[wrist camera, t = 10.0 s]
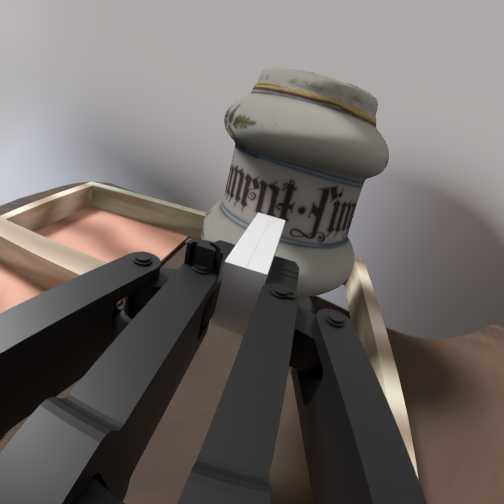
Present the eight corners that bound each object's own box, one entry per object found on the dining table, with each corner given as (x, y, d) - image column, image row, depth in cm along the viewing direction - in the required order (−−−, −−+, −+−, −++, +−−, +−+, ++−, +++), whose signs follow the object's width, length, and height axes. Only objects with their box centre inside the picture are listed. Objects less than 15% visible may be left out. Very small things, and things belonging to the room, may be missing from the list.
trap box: (380, 612, 4) (423, 606, 3) (-125, 329, 7) (-139, 295, 6) (353, 282, 34) (363, 259, 32) (90, 203, 36) (91, 181, 35)
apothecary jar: (161, 281, 25) (203, 55, 18) (256, 257, 34) (300, 92, 27) (267, 375, 18) (369, 68, 11) (349, 315, 27) (421, 124, 20)
